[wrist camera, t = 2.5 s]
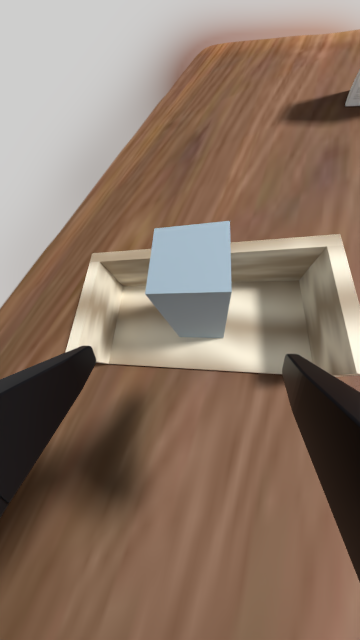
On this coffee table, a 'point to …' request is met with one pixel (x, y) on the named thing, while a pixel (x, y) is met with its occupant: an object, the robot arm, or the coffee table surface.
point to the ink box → (354, 93)
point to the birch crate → (231, 311)
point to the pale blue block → (192, 278)
